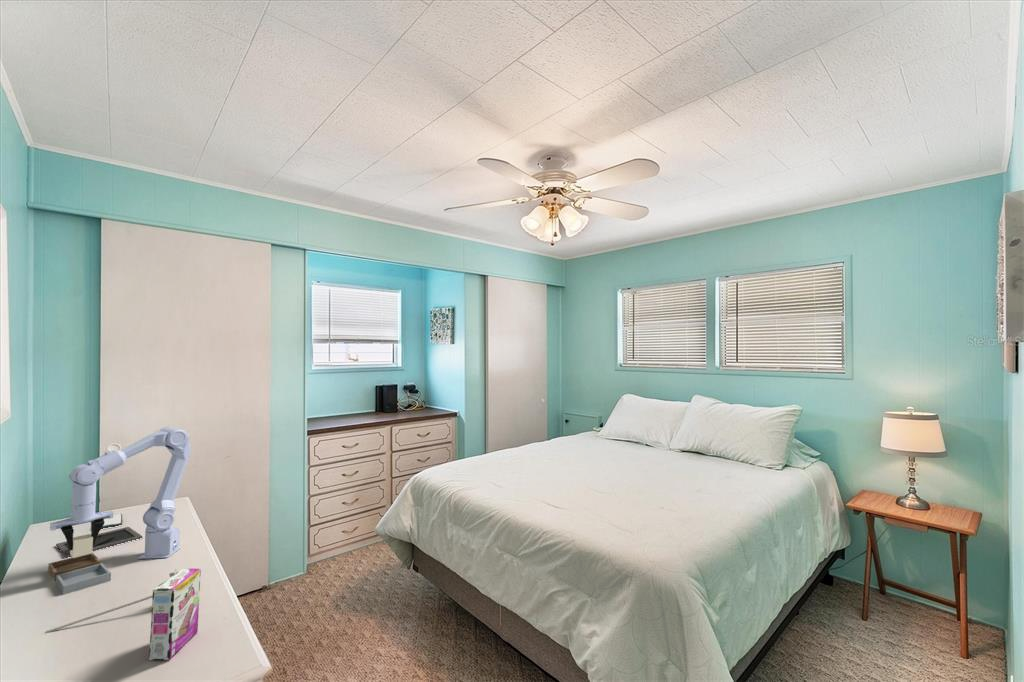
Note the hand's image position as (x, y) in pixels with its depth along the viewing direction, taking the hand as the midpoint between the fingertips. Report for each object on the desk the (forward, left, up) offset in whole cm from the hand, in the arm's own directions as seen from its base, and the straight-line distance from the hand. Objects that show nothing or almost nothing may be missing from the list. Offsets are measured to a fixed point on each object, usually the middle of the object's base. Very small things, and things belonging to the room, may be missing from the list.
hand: (81, 546), depth 145 cm
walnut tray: (+6, -6, -10) cm, 13 cm away
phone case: (+25, -50, -10) cm, 57 cm away
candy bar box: (-49, +40, -10) cm, 64 cm away
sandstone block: (0, 0, -2) cm, 2 cm away
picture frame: (+14, -29, -11) cm, 34 cm away
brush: (-27, +24, -10) cm, 38 cm away
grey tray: (-3, +3, -10) cm, 11 cm away
